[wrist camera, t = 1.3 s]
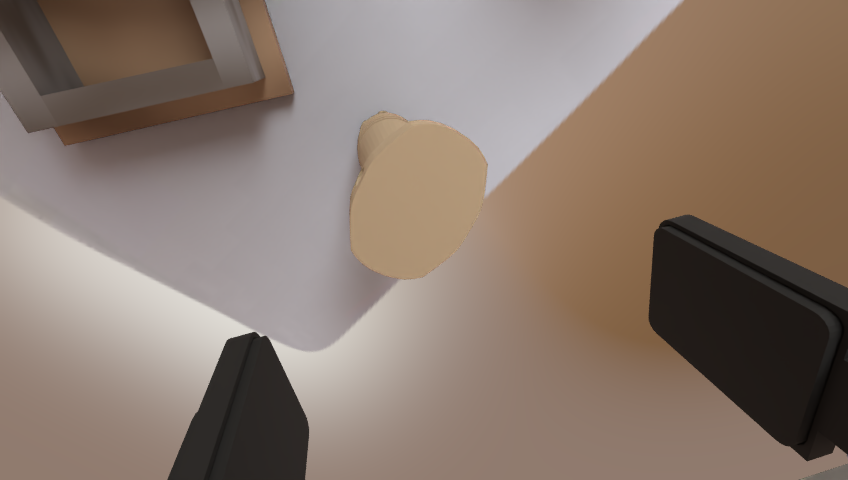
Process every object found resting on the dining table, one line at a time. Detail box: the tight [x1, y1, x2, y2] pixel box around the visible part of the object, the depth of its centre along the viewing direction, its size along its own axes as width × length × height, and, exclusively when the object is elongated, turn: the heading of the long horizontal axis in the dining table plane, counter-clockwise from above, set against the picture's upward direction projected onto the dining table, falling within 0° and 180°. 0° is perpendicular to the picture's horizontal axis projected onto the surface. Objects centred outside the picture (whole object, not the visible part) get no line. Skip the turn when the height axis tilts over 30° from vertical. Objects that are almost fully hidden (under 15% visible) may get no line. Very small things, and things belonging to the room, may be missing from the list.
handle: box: [350, 111, 488, 279], centre depth 22 cm, size 5×6×15 cm
